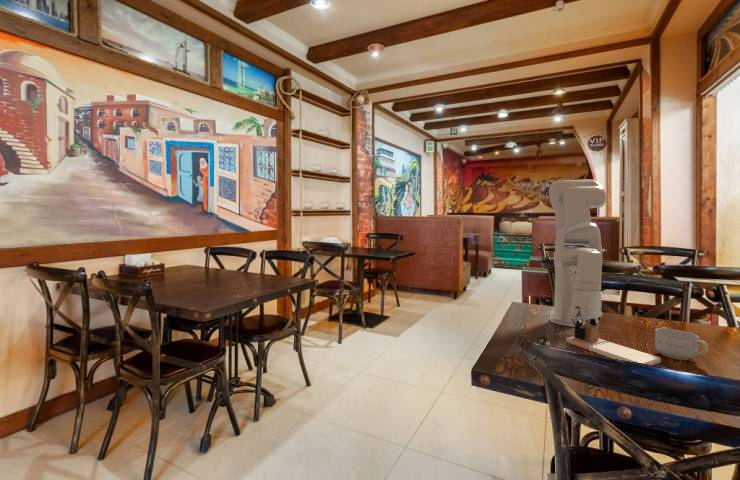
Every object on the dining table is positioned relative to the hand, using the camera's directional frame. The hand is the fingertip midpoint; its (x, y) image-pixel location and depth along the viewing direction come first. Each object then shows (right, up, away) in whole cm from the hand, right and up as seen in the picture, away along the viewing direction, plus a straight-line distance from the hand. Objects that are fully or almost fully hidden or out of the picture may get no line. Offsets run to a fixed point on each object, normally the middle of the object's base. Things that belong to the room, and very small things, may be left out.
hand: (586, 336), depth 127 cm
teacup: (+22, -4, -13) cm, 26 cm away
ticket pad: (+5, -3, -11) cm, 13 cm away
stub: (0, -3, 0) cm, 3 cm away
